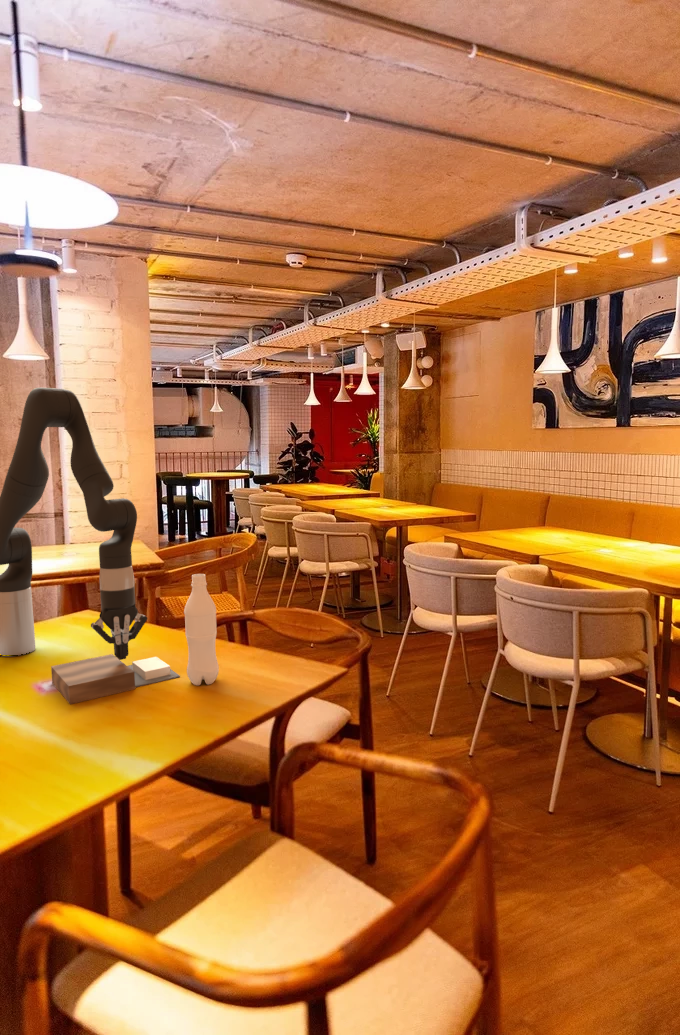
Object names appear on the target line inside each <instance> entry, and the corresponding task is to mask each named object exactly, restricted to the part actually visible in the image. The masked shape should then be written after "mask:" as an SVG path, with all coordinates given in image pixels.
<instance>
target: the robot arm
mask: <svg viewBox="0 0 680 1035" xmlns="http://www.w3.org/2000/svg"><path fill="white" fill-rule="evenodd" d="M22 413H23V414H22V418H21V423H20V429H19V433H18V438H17V440H16V445H15V449H14V451H13V455H12V458H11V461H10V463H9V464H10V465H9V467H8V469H7V472H6V475H5V479H4V482H3V486H2V490H1V492H0V566H4V565H7V568H6V569H5V570H4V572H3V573H1V574H0V654H1V655H18V656H22V655H21V654H23V655H26V653H27V654H29V652H30V653H32V652H34V651H35V650H36V639H35V638H36V636H35V634H36V633H35V621H34V611H33V610H34V608H33V596H32V594H33V593H32V585H31V584H32V578H33V545H32V539H31V537H30V534H29V532H28V531H27V530H26V529H25V528H23V527H16V525H17V524H18V522H19V521H20V520H22V518H23V517H25V515H26V514H27V513H29V512H30V511H31V510H32V509H33V508H34V507H35V506H36V505H37V503H38V502H39V501H40V500H41V499H42V497H43V495H44V493H45V489H46V486H47V483H48V480H49V477H50V470H49V465H48V463H47V460H46V457H45V454H44V453H43V448H42V441H43V436H44V434H45V431H46V429H47V428H64V429H65V430H66V432H67V433H68V434H69V436H70V438H71V441H72V446H71V447H72V448H71V454H70V469H71V472H72V475H73V477H74V479H75V481H76V483H77V485H78V486H79V487H80V490H81V492H82V494H83V499H84V503H85V509H86V510H85V511H86V514H87V515H86V516H87V519H88V522H89V524H90V525H91V526H92V527H93V529H95V530H97V531H98V532H102V533H103V532H111V531H113V532H112V536H111V537H110V538H109V539H107V540H105V541H103V542H102V543H100V544H99V546H98V555H99V556H98V558H99V560H98V561H99V593H100V608H101V609H100V613H99V618H98V619H96V621H95V622H91V623H90V627H91V629H93V630H94V631H95V632H96V634H98V635H99V636H100V637H101V638H102V639H103V640H104V641H105V642H107V644H113V653H114V654H113V655H114V656H115V657H116V658H118V659H119V660H120V661H122V660H126V659H127V657H128V656H129V642H130V641H132V640H134V639H136V638H137V636H138V634H139V633H140V631H141V630H142V628H143V627H144V625H145V623H146V622H147V620H148V617H147V615H144V614H143V613H142V614H141V613H139V611H138V608H137V607H136V594H135V592H136V591H135V583H136V582H135V576H134V575H135V574H134V570H133V560H132V559H133V557H132V556H133V555H132V544H133V541H134V536H135V531H136V527H137V523H138V522H137V521H138V513H137V509H136V506H135V504H134V502H132V501H131V500H130V499H128V498H113V499H106V498H105V497H106V496H108V495H109V494H110V493H111V492H112V491H113V490H114V487H115V486H114V482H113V479H112V477H111V475H110V474H109V471H108V470H107V468H106V467H105V465H104V462H103V461H102V459H101V456H99V452H98V451H97V448H96V446H95V443H94V439H93V436H92V435H91V433H92V432H91V431H90V430H91V429H90V428H89V425H88V422H87V418H86V417H85V413H84V410H83V407H82V404H81V402H80V400H79V398H78V396H77V395H76V394H75V393H74V392H73V391H72V390H69V389H66V388H56V387H55V388H53V387H35V388H33V389H32V390H31V391H30V392H29V393H28V395H27V397H26V399H25V403H24V408H23V412H22ZM132 623H133V624H132ZM104 624H105V626H106V627H107V628H109V629H110V633H111V636H110V635H109V633H107V632H106V631H105V630H104V628H105V627H104ZM131 625H132V626H131ZM130 626H131V627H130Z"/></svg>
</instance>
